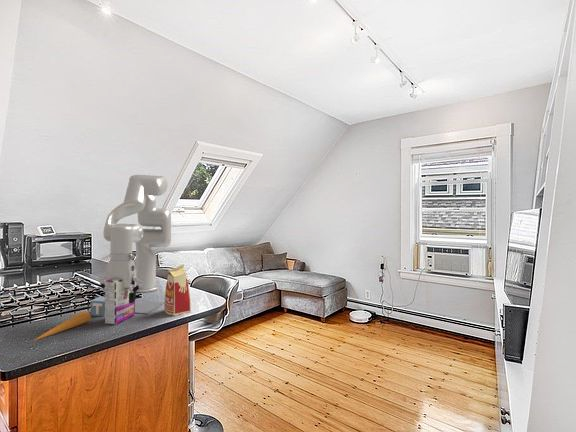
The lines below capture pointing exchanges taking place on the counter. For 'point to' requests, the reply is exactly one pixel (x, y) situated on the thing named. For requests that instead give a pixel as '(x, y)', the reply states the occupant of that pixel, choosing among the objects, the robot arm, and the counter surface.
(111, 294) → the candy bar box
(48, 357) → the counter surface
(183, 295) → the milk carton
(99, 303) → the letter cube
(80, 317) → the carrot
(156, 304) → the mat
